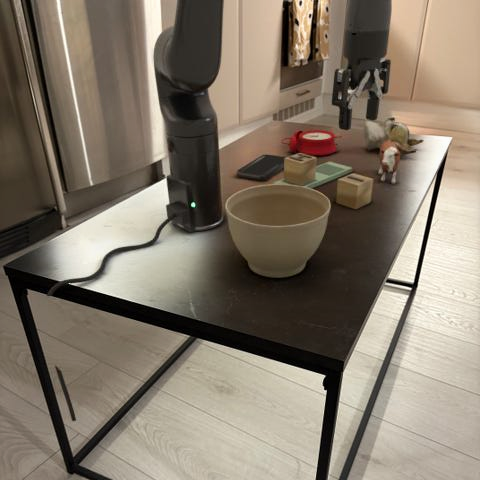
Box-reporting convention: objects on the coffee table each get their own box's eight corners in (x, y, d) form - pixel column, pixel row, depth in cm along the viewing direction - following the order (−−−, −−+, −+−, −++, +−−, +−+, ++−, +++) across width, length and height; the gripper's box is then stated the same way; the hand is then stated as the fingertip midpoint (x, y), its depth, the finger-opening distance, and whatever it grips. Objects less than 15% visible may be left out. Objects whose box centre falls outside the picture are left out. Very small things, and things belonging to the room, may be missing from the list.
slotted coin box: (355, 209, 101) (358, 184, 98) (335, 202, 104) (338, 178, 101) (370, 202, 104) (373, 177, 101) (350, 196, 107) (353, 172, 104)
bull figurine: (375, 188, 110) (380, 151, 105) (377, 168, 121) (381, 133, 116) (396, 189, 109) (402, 151, 105) (396, 169, 120) (401, 134, 115)
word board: (295, 195, 108) (295, 190, 108) (272, 187, 113) (272, 182, 112) (352, 171, 119) (352, 167, 119) (329, 165, 124) (329, 161, 123)
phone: (234, 172, 118) (264, 153, 129) (235, 176, 119) (264, 158, 129) (264, 176, 115) (292, 157, 125) (264, 181, 115) (292, 162, 126)
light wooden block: (300, 185, 110) (301, 162, 107) (283, 180, 113) (284, 157, 110) (315, 179, 113) (316, 156, 110) (298, 174, 116) (299, 151, 113)
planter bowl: (208, 266, 84) (203, 204, 78) (273, 234, 93) (274, 177, 87) (280, 302, 74) (281, 235, 68) (345, 263, 83) (352, 200, 77)
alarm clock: (338, 143, 126) (281, 126, 127) (331, 167, 130) (276, 150, 131) (344, 132, 134) (290, 116, 136) (336, 155, 138) (285, 139, 139)
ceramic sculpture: (371, 108, 133) (429, 117, 127) (365, 141, 138) (421, 151, 132) (359, 118, 125) (421, 128, 120) (354, 153, 130) (412, 163, 125)
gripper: (372, 21, 93) (363, 114, 102) (323, 30, 85) (318, 129, 94) (409, 23, 88) (396, 119, 98) (360, 32, 80) (351, 136, 90)
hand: (358, 124), depth 96 cm, fingers open, 8 cm apart
